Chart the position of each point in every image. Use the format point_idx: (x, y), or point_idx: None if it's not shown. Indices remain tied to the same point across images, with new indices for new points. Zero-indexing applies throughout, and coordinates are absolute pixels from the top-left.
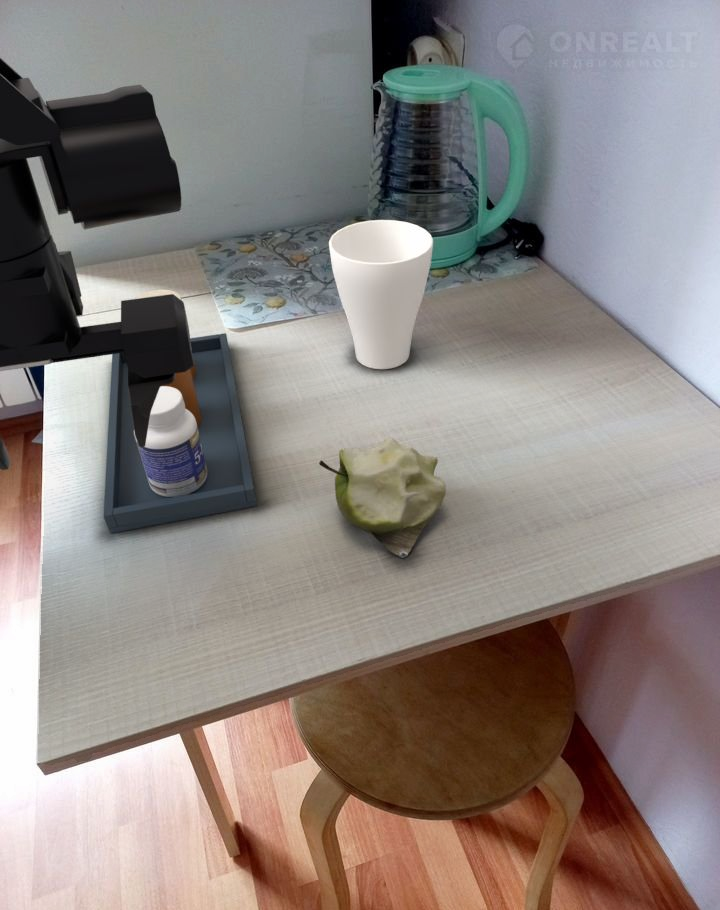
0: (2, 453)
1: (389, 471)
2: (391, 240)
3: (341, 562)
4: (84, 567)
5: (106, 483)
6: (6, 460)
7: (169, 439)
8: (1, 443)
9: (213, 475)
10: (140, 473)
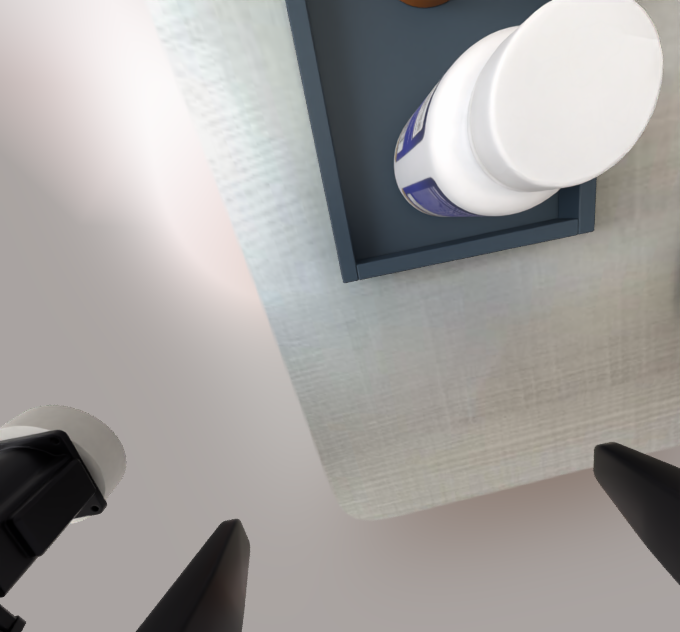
0: (234, 600)
1: None
2: None
3: (655, 341)
4: (322, 334)
5: (329, 199)
6: (241, 559)
7: (531, 204)
8: (216, 597)
9: None
10: (371, 139)
